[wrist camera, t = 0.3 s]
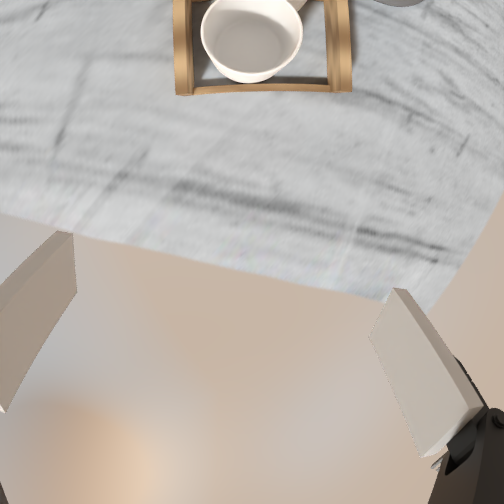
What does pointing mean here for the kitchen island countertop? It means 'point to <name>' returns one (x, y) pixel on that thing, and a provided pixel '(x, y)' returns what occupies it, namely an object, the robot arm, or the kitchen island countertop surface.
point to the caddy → (336, 77)
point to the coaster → (399, 2)
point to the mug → (252, 37)
